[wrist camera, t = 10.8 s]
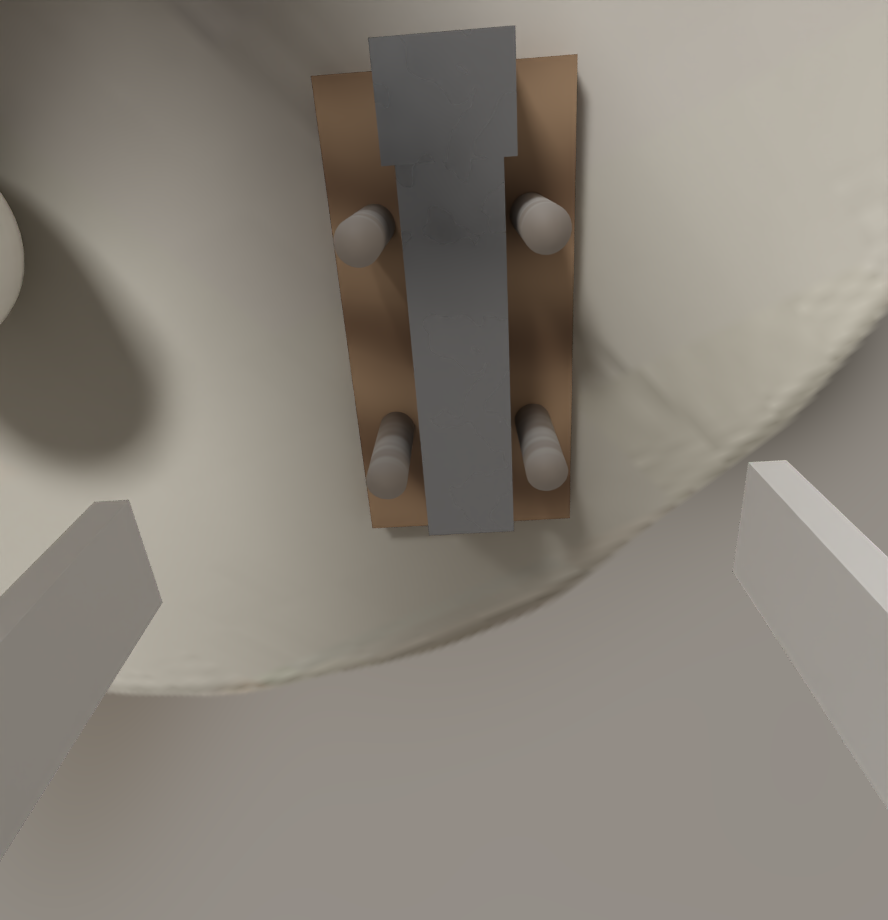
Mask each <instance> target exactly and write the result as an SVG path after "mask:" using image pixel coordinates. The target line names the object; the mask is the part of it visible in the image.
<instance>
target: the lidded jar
mask: <svg viewBox="0 0 888 920" xmlns="http://www.w3.org/2000/svg"><path fill="white" fill-rule="evenodd" d="M23 276H24V248H23V243H22V238H21V233H20V231H19V228H18V225H17V222H16V219H15V217H14V215H13V213H12V211H11V209H10V207H9V205H8V203H7V201H6V200H5V198H4V197H3V195H2V194H1V192H0V324H1V323H2V322H3V321H4V320H5V319H6V317H7V316H8V315H9V313H10V311H11V309H12V308H13V306H14V304H15V302H16V300H17V298H18V296H19V293H20V290H21V287H22V283H23Z"/></svg>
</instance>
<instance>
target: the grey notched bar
mask: <svg viewBox="0 0 888 920" xmlns="http://www.w3.org/2000/svg"><path fill="white" fill-rule="evenodd" d="M368 40H369V50H370V60H371V70H372V80H373V90H374V100H375V109H376V119H377V129H378V139H379V149H380V159H381V166H392V165H395V173H396V184H397V195H398V205H399V216H400V227H401V238H402V248H403V259H404V270H405V281H406V291H407V302H408V313H409V324H410V335H411V345H412V356H413V367H414V378H415V388H416V399H417V410H418V421H419V431H420V442H421V453H422V464H423V475H424V485H425V496H426V507H427V518H428V528H429V535H444V534H464V533H483V532H503V531H514V519H513V482H512V444H511V406H510V368H509V330H508V292H507V254H506V217H505V179H504V157H510V156H518V146H517V91H516V36H515V26H503V27H491V28H479V29H467V30H455V31H444V32H432V33H420V34H408V35H396V36H384V37H372V38H368Z"/></svg>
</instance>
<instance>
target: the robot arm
mask: <svg viewBox="0 0 888 920" xmlns="http://www.w3.org/2000/svg"><path fill="white" fill-rule="evenodd" d="M732 572H733V573H734V575H735V576H736V578H737V580H738V581H739V582H740V584H741V585H742V587H743V589H744V590H745V592H746V593H747V595H748V596H749V598H750V599H751V601H752V603H753V604H754V606H755V607H756V609H757V610H758V612H759V613H760V615H761V616H762V618H763V619H764V620H765V622H766V624H767V626H768V627H769V629H770V630H771V632H772V633H773V635H774V636H775V638H776V639H777V641H778V642H779V644H780V645H781V647H782V649H783V650H784V652H785V653H786V655H787V656H788V658H789V659H790V661H791V662H792V664H793V665H794V667H795V669H796V670H797V671H798V673H799V675H800V676H801V678H802V679H803V681H804V682H805V684H806V685H807V687H808V688H809V690H810V691H811V693H812V695H813V696H814V698H815V699H816V701H817V702H818V704H819V705H820V707H821V708H822V710H823V711H824V713H825V715H826V716H827V718H828V719H829V721H830V722H831V724H832V725H833V727H834V728H835V730H836V731H837V733H838V734H839V736H840V737H841V739H842V741H843V742H844V744H845V745H846V747H847V748H848V750H849V751H850V753H851V754H852V756H853V757H854V759H855V761H856V762H857V764H858V765H859V767H860V768H861V770H862V771H863V773H864V774H865V776H866V777H867V779H868V780H869V782H870V784H871V785H872V787H873V788H874V790H875V791H876V793H877V794H878V796H879V797H880V799H881V800H882V802H883V803H884V805H885V807H886V808H887V810H888V557H887V556H886V555H885V554H884V553H883V552H882V551H881V550H880V549H879V548H878V547H877V546H876V545H875V544H874V543H873V542H871V541H870V540H869V539H868V538H867V537H866V536H865V535H864V534H863V533H862V532H861V531H860V530H859V529H858V528H857V527H856V526H855V525H854V524H853V523H852V522H851V521H849V520H848V519H847V518H846V517H845V516H844V515H843V514H842V513H841V512H840V511H839V510H838V509H837V508H836V507H835V506H834V505H833V504H832V503H830V501H829V500H827V499H826V498H825V497H824V496H823V495H822V494H821V493H820V492H819V491H818V490H817V489H816V488H815V487H814V486H813V485H812V484H811V483H810V482H809V481H808V480H807V479H805V478H804V477H803V476H802V475H801V474H800V473H799V472H798V471H797V470H796V469H795V468H794V467H793V466H792V465H791V464H790V463H789V462H788V461H787V460H780V461H763V462H749V463H748V469H747V476H746V483H745V489H744V496H743V503H742V510H741V517H740V524H739V530H738V537H737V544H736V551H735V558H734V564H733V571H732ZM161 604H162V599H161V596H160V593H159V590H158V587H157V584H156V581H155V578H154V575H153V572H152V569H151V566H150V563H149V560H148V557H147V554H146V550H145V547H144V544H143V541H142V538H141V535H140V532H139V529H138V526H137V523H136V520H135V517H134V514H133V511H132V508H131V505H130V502H129V500H118V501H102V502H94V503H93V504H92V505H91V506H90V507H89V508H88V509H87V510H86V511H85V512H84V513H83V514H82V515H81V516H80V517H79V518H78V519H77V520H76V521H75V522H74V523H73V524H72V525H71V526H70V527H69V528H68V529H67V530H66V531H65V532H64V533H63V534H62V535H61V536H60V537H59V538H58V539H57V540H56V541H55V542H54V543H53V544H52V545H51V546H50V547H49V548H48V549H47V550H46V551H45V552H44V553H43V554H42V555H41V556H40V557H39V558H38V559H37V560H36V561H35V562H34V563H33V564H32V565H31V566H30V567H29V568H28V569H27V570H26V571H25V572H24V573H23V574H22V575H21V576H20V577H19V578H18V579H17V580H16V581H15V582H14V583H13V584H12V585H11V586H10V587H9V589H8V590H7V591H6V592H5V593H4V594H3V595H2V596H1V597H0V861H1V859H2V858H3V856H4V854H5V853H6V851H7V850H8V848H9V846H10V845H11V843H12V842H13V840H14V839H15V837H16V835H17V834H18V832H19V831H20V829H21V827H22V826H23V824H24V822H25V821H26V819H27V818H28V816H29V814H30V813H31V811H32V810H33V808H34V807H35V805H36V803H37V802H38V800H39V798H40V797H41V795H42V794H43V792H44V791H45V789H46V787H47V786H48V784H49V782H50V781H51V779H52V778H53V776H54V775H55V773H56V771H57V770H58V768H59V766H60V765H61V764H62V762H63V760H64V759H65V757H66V756H67V754H68V752H69V751H70V749H71V748H72V746H73V744H74V743H75V741H76V740H77V738H78V736H79V735H80V733H81V732H82V730H83V728H84V727H85V725H86V724H87V722H88V720H89V719H90V717H91V715H92V714H93V712H94V711H95V709H96V708H97V706H98V704H99V703H100V701H101V699H102V698H103V696H104V695H105V693H106V692H107V690H108V689H109V687H110V685H111V684H112V682H113V681H114V679H115V677H116V676H117V674H118V673H119V671H120V669H121V668H122V666H123V665H124V663H125V661H126V660H127V658H128V657H129V655H130V653H131V652H132V650H133V649H134V647H135V645H136V644H137V642H138V641H139V639H140V637H141V636H142V634H143V633H144V631H145V629H146V628H147V626H148V625H149V623H150V621H151V620H152V618H153V617H154V615H155V614H156V612H157V610H158V609H159V607H160V606H161Z"/></svg>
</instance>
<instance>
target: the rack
mask: <svg viewBox="0 0 888 920" xmlns="http://www.w3.org/2000/svg"><path fill="white" fill-rule="evenodd" d="M311 80H312V88H313V95H314V102H315V110H316V117H317V124H318V132H319V139H320V147H321V154H322V161H323V169H324V176H325V183H326V191H327V198H328V205H329V213H330V220H331V227H332V235H333V243H334V249H335V257H336V264H337V271H338V279H339V286H340V293H341V301H342V308H343V315H344V323H345V330H346V337H347V345H348V352H349V359H350V367H351V374H352V381H353V389H354V396H355V403H356V411H357V418H358V425H359V433H360V440H361V447H362V455H363V462H364V469H365V477H366V485H367V491H368V499H369V506H370V513H371V521H372V528H387V527H406V526H426V525H428V518H427V507H426V496H425V485H424V475H423V464H422V453H421V442H420V431H419V421H418V410H417V399H416V388H415V378H414V367H413V356H412V345H411V335H410V324H409V313H408V302H407V291H406V281H405V270H404V259H403V248H402V238H401V227H400V216H399V205H398V195H397V184H396V173H395V165H392V166H381V159H380V149H379V139H378V129H377V119H376V109H375V100H374V90H373V80H372V71H366V72H354V73H342V74H330V75H317V76H311ZM516 91H517V146H518V156H510V157H504V179H505V217H506V254H507V292H508V330H509V368H510V406H511V444H512V482H513V519H514V521H522V520H541V519H561V518H570V462H571V404H572V345H573V287H574V228H575V170H576V111H577V54H574V55H562V56H550V57H537V58H525V59H516Z"/></svg>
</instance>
